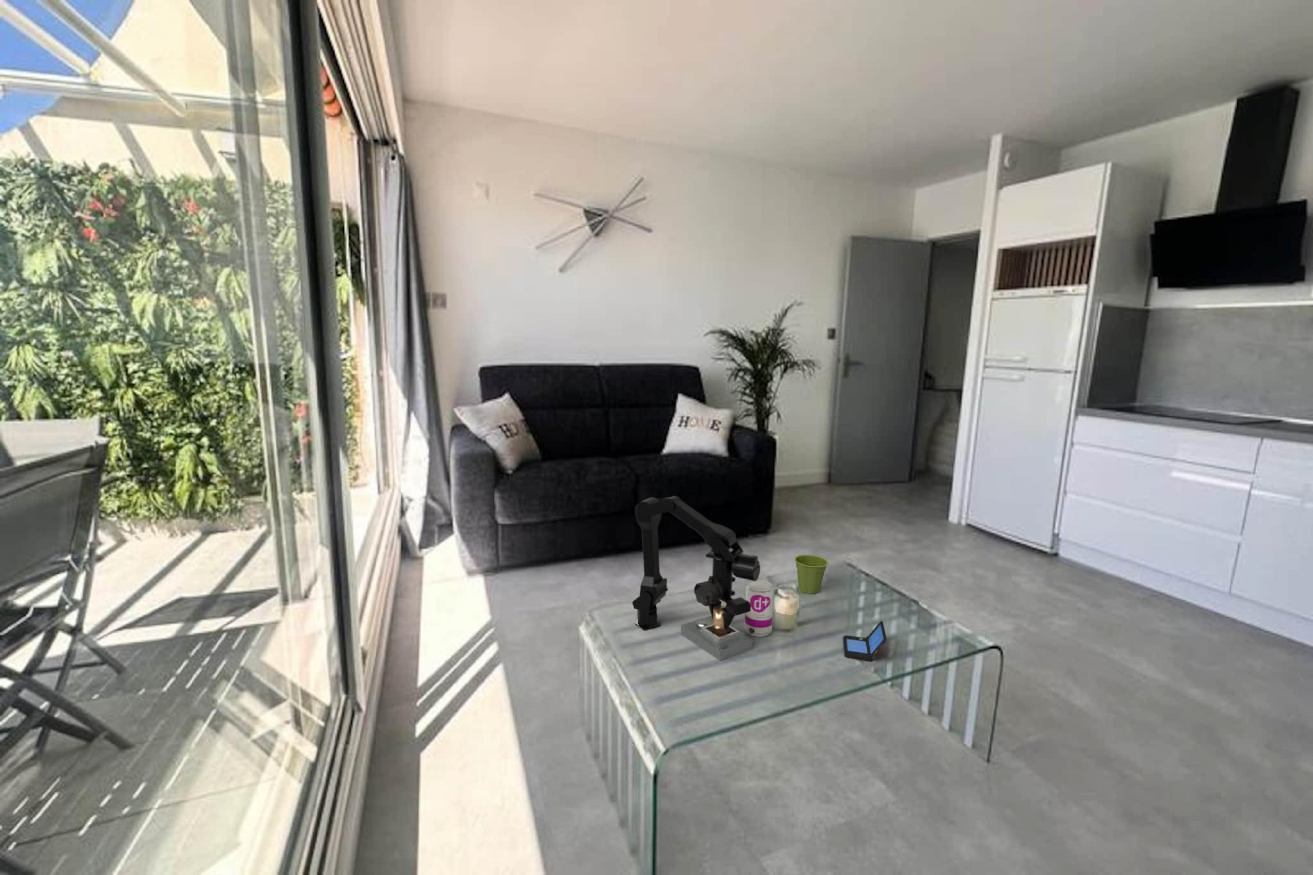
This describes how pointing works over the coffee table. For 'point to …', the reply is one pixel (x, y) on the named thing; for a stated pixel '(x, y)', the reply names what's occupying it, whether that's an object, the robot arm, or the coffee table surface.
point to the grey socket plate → (716, 639)
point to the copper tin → (719, 621)
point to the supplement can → (759, 608)
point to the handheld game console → (865, 644)
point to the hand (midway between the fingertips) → (720, 625)
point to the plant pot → (810, 572)
